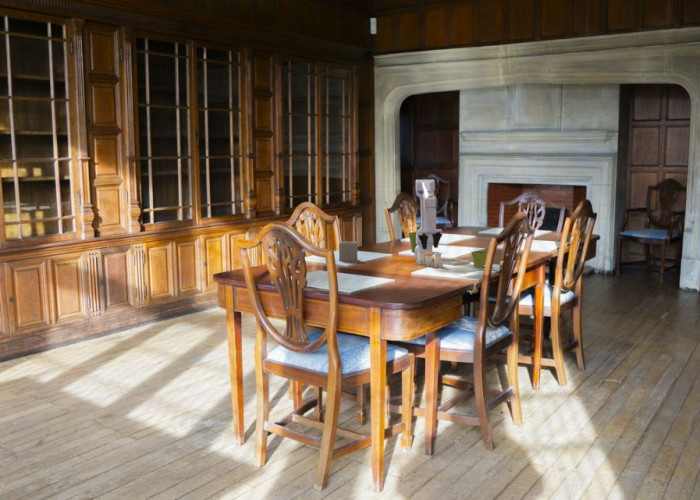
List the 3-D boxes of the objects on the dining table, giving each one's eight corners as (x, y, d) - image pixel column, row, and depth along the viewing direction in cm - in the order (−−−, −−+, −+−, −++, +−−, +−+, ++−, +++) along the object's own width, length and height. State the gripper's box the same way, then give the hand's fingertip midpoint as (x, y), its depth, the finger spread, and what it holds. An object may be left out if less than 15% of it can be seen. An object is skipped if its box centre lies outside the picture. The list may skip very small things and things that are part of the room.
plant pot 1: (427, 250, 430) (427, 231, 428) (427, 253, 418) (427, 234, 417) (407, 250, 431) (407, 231, 430) (407, 253, 420) (407, 234, 418)
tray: (436, 265, 373) (436, 260, 373) (453, 263, 380) (453, 258, 380) (453, 268, 363) (453, 263, 363) (470, 265, 370) (470, 260, 370)
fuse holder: (411, 267, 369) (411, 260, 368) (421, 265, 373) (421, 259, 372) (437, 271, 353) (437, 264, 353) (447, 270, 358) (447, 263, 357)
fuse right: (432, 267, 358) (432, 253, 358) (437, 266, 361) (437, 252, 360) (437, 268, 356) (437, 254, 355) (442, 267, 358) (442, 253, 357)
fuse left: (416, 264, 368) (416, 250, 367) (421, 263, 370) (421, 250, 369) (420, 265, 365) (421, 251, 364) (426, 264, 367) (426, 250, 366)
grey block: (352, 262, 387) (352, 244, 386) (336, 261, 392) (335, 243, 390) (363, 259, 399) (362, 241, 398) (346, 258, 403) (346, 240, 402)
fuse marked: (424, 265, 363) (424, 252, 362) (429, 265, 365) (429, 251, 364) (429, 266, 360) (429, 252, 360) (434, 265, 363) (434, 252, 362)
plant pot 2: (475, 271, 354) (476, 253, 352) (467, 268, 363) (467, 251, 361) (493, 270, 356) (493, 253, 355) (484, 267, 365) (485, 250, 364)
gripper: (425, 223, 352) (425, 250, 354) (446, 221, 361) (446, 247, 363) (415, 222, 358) (415, 249, 360) (436, 220, 367) (436, 246, 368)
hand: (430, 248), depth 362 cm, fingers open, 7 cm apart
